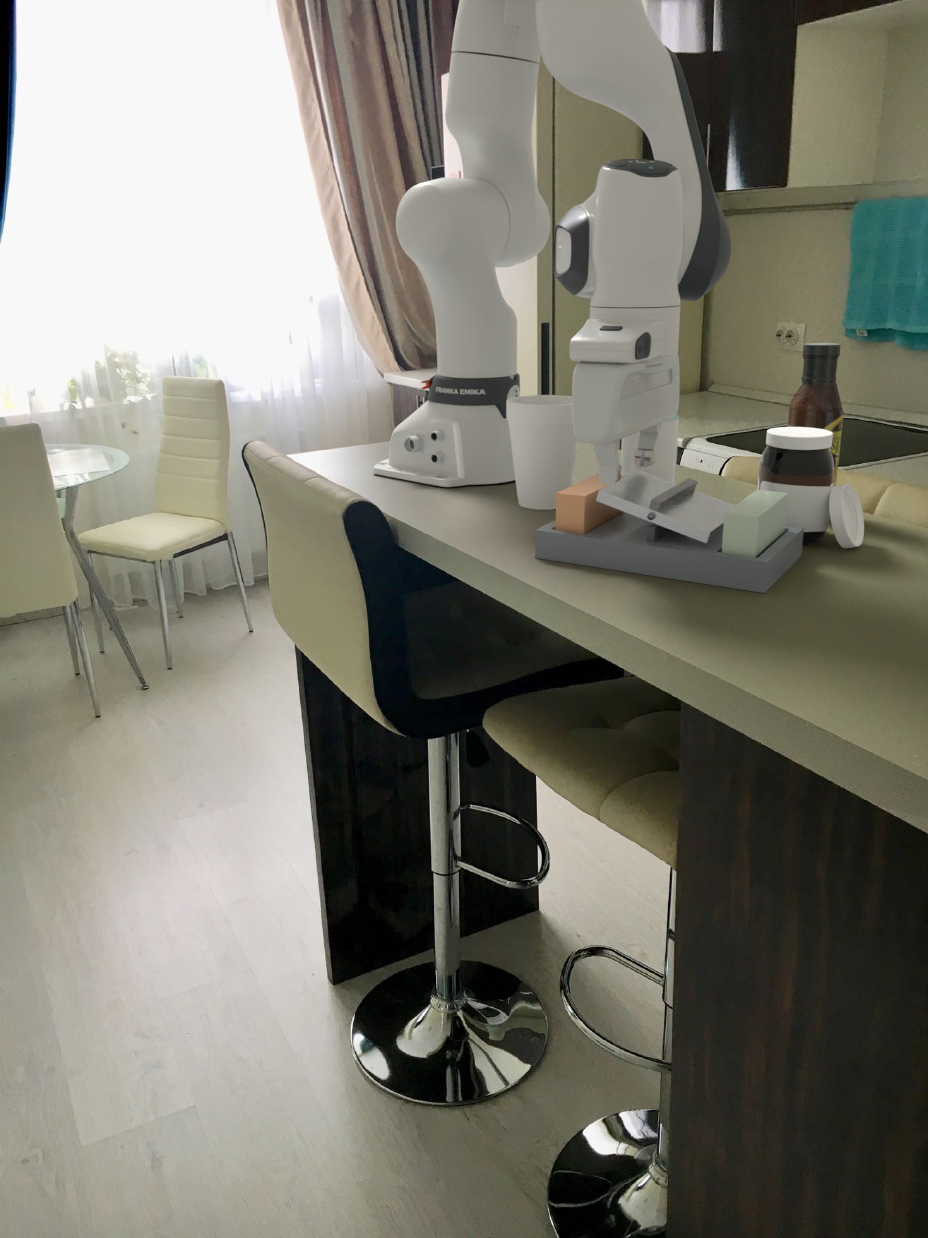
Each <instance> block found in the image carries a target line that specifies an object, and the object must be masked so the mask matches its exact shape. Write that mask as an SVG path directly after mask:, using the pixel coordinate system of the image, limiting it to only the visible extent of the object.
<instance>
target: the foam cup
mask: <svg viewBox="0 0 928 1238" xmlns="http://www.w3.org/2000/svg"><path fill="white" fill-rule="evenodd" d="M506 419H507V420H508V424H509V432H510V440H511V448H512V456H513V464H514V473H515V480H514V481H515V487H516V488H515V489H516V495H517V500H518V505H519V507H522V508H525V509H530V510H539V511H541V510H542V511H543V510H544V511H545V510H551V511H552V510H556V493H557V492H559V491H562V490H564V489H566V488H568V487H570V486H573V484H572V483H573V477H574V472H575V471H574V470H575V466H576V458H577V452H578V445H579V441H578V440H577V438H576V435H575V432H574V429H573V416H572V395H558V394H556V395H555V394H534V395H533V394H532V395H520V396H519V397H513V398H510V399H508V400H506Z"/></svg>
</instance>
